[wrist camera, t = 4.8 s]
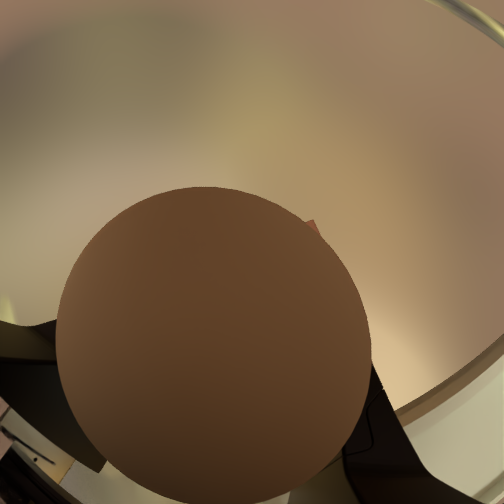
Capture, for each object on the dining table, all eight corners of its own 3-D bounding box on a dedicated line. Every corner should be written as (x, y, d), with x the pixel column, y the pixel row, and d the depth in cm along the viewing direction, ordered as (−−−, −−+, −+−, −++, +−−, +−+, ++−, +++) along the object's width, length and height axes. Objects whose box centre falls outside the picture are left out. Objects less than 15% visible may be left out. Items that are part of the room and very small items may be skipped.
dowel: (248, 378, 14) (116, 506, 2) (224, 311, 15) (40, 258, 3) (317, 353, 14) (410, 450, 2) (291, 286, 15) (284, 141, 3)
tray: (298, 573, 9) (298, 591, 6) (234, 466, 13) (224, 486, 10) (514, 464, 8) (529, 472, 6) (504, 332, 12) (526, 331, 10)
